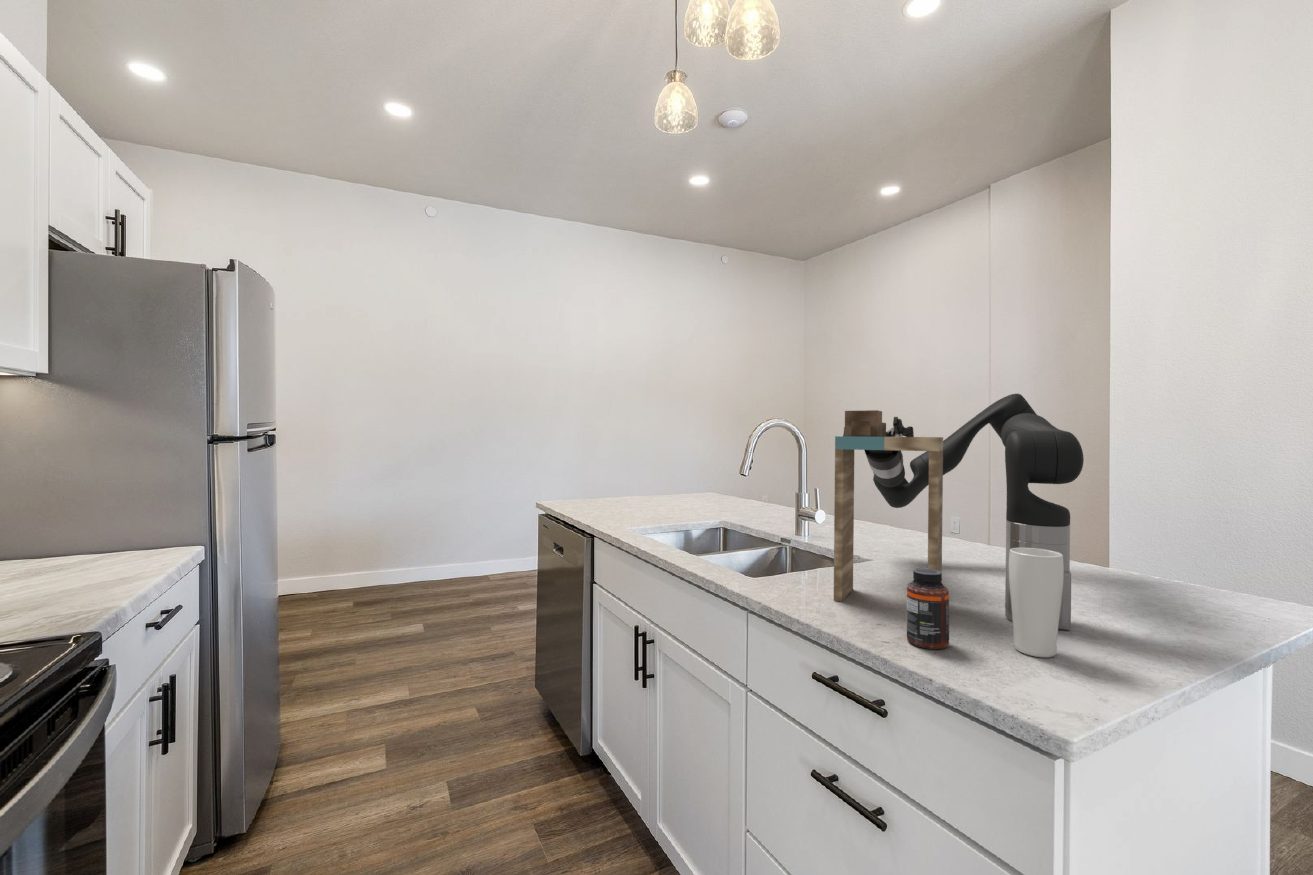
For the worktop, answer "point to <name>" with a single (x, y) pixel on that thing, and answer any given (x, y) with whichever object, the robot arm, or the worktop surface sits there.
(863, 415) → the brown wooden block
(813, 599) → the worktop surface
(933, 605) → the supplement bottle
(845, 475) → the oak stand
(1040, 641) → the white tall cup
